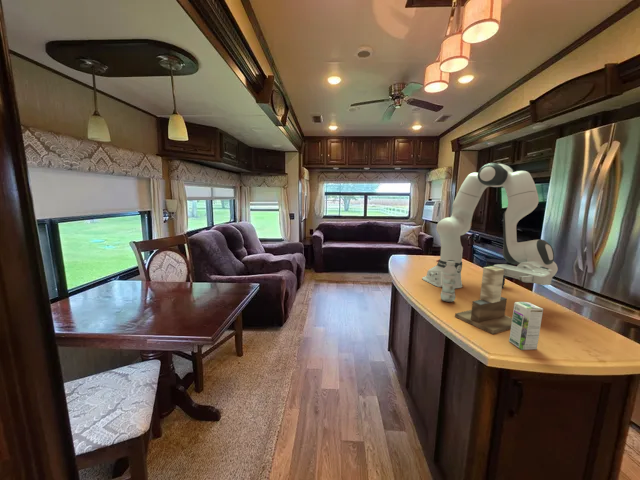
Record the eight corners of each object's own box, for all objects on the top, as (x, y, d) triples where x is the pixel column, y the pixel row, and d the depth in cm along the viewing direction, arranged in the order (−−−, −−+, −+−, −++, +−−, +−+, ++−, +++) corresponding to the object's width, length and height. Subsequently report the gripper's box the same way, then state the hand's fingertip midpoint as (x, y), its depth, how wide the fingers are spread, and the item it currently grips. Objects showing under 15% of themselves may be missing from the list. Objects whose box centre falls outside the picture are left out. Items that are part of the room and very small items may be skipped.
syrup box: (508, 341, 95) (513, 301, 93) (523, 340, 95) (529, 301, 93) (521, 350, 89) (527, 308, 87) (538, 349, 90) (544, 308, 88)
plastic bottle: (456, 301, 132) (460, 260, 129) (452, 304, 127) (456, 263, 124) (442, 297, 136) (446, 258, 133) (438, 301, 131) (441, 260, 128)
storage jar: (479, 284, 158) (482, 259, 156) (491, 282, 161) (494, 258, 159) (495, 290, 149) (499, 263, 146) (508, 288, 152) (511, 262, 150)
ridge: (454, 316, 114) (456, 296, 112) (483, 310, 121) (485, 290, 120) (492, 334, 100) (495, 311, 98) (522, 325, 107) (525, 303, 106)
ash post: (479, 298, 110) (483, 267, 108) (487, 296, 112) (491, 266, 110) (492, 303, 106) (495, 270, 104) (500, 301, 108) (504, 269, 106)
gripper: (504, 259, 126) (485, 262, 121) (557, 270, 108) (537, 274, 102) (503, 273, 127) (483, 276, 122) (555, 286, 109) (534, 290, 103)
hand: (508, 275), depth 112 cm, fingers open, 8 cm apart
